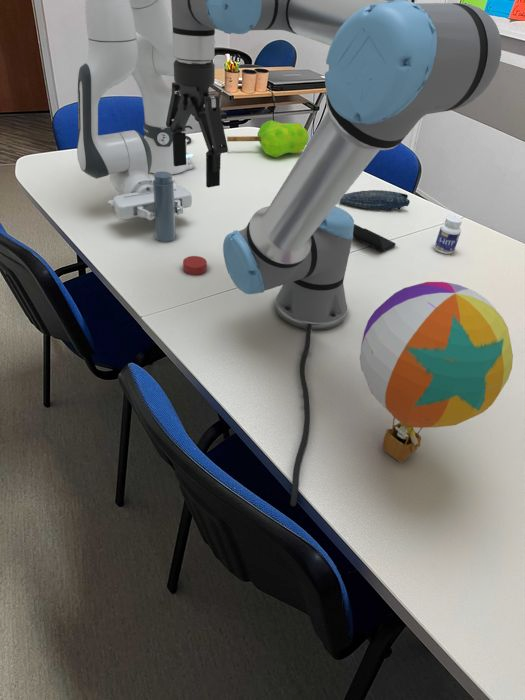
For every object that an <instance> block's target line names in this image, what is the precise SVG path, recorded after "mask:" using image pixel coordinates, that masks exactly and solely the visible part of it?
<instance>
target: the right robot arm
mask: <svg viewBox="0 0 525 700" xmlns="http://www.w3.org/2000/svg"><path fill="white" fill-rule="evenodd" d="M170 2H171V3H170V5H171V6H170V7H171V16H172V26H173V32H172V37H173V56H174V57H175V58H177V60H175V62H174V76H173V80H174V81H173V82H171V89H172V95H171V100H170V105H169V110H168V115H167V120H166V126H167V127H170V131H171V133H172V137H173V161H174V166H181V165H186V142H187V138H186V136H187V135H186V131H187V130H186V129H187V128H185V126H187V124H188V121H189V120H190V117H191V116H192V117H194V120H195V121H196V122H198V125H199V129H200V131H201V134H202V137H203V139H204V143H205V145H206V148H207V151H206V153H205V178H206V179H205V187H206V188H213V187H219V186H220V185H221V161H222V160H221V157H222V156H221V155H222V154H225V153H228V152H229V147H228V141H227V137H226V134H225V129H224V128H225V127H224V124H223V119H222V115H221V109H220V96H218V95H211V96H210V90H209V88H210V87H211V86H213V85H214V84H215V81H216V79H215V78H216V77H215V73H216V72H215V71H216V69H215V67H216V66H215V65H216V64H215V63H214V61H213V60H214V59H215V44H216V40H215V34H216V30H218V31H221V32H223V33H224V34H227V35H231V34H234V35H244V34H248V33H249V32H251V31H285V32H289V33H291V34H293V35H297V36H301V37H304V38H306V39H309V40H312V41H316V42H318V43H322V44H324V45H327V46H329V49H328V52H327V56H326V60H325V64H326V65H328V70H327V71H325V72H324V85H325V91H326V93H325V104H326V109H327V112H326V113H325V115H324V116H323V118H322V119H321V121H320V123H319V125H318V126H317V128H316V130H315V131H314V133H313V134H312V136H311V138H310V139H309V140H308V142H307V144H306V146H305V148H304V150H302V151H301V154H300V155H299V157H298V159H297V160H296V162H295V163H294V165H293V167H292V168H291V170H290V172H289V173H288V175H287V177H286V178H285V179H284V182H283V183H282V185H281V187H280V188H279V190H278V191H277V193H276V194H275V196H274V198H273V199H272V201H271V202H270V205H269V206H268V205H267V206H264V207H262V208H259V209H258V210H257V211H256V212H255V213H254V214H253V215H252V217H250V220H249V221H248V223H247V225H246V227H244V228H243V229H241V230H233V231H232V232H230V233H228V234H227V235H225V237H224V239H223V244H222V254H223V259H224V265H225V268H226V270H227V273H228V275H229V277H230V279H231V280H232V282H233V284H234V285H235V287H236V288H237V289H238V290H239V291H241V292H242V293H244V294H246V295H255V294H260V293H262V294H263V293H264V292H265V291H268V290H272V289H274V288H277V287H280V286H281V287H280V290H279V291H278V293H277V295H276V300H275V311H276V313H277V315H278V316H279V317H280V318H281V319H282V320H283V321H284V322H286V323H287V324H289V325H291V326H293V327H296V328H300V329H304V330H306V333H305V343H304V347H303V352H302V355H301V358H300V362H299V378H300V384H301V388H302V393H303V408H304V409H303V410H304V411H303V412H304V413H303V415H304V418H303V429H302V436H301V440H300V442H299V443H300V444H299V447H298V450H297V453H296V456H295V460H294V465H293V470H292V480H291V481H292V482H291V494H290V502H289V504H290V506H291V507H296V506H297V503H298V497H299V495H298V494H299V480H300V470H301V466H302V461H303V458H304V457H303V456H304V453H305V450H306V447H307V444H308V439H309V433H310V422H311V421H310V420H311V410H310V409H311V408H310V395H309V394H310V393H309V389H308V384H307V379H306V371H305V370H306V362H307V357H308V354H309V351H310V346H311V340H312V339H311V337H312V331H324V330H325V331H326V330H329V329H333V328H336V327H337V326H339V325H340V324H342V323H343V322H344V320H345V318H346V315H347V310H348V305H347V297H346V292H345V286H344V280H345V275H346V271H347V267H348V262H349V257H350V253H351V247H352V244H353V243H352V242H353V240H354V238H353V230H354V224H355V220H354V218H353V216H352V215H351V214H350V213H349V212H348V211H346V210H345V209H343V208H340V207H339V206H337V204H338V203H340V199H341V198H342V197H343V196H344V194H347V192H348V191H349V189H350V188H351V187H352V186H353V185H354V183H355V182H356V180H358V178H359V177H360V176H361V174H362V173H363V172H364V171H365V169H366V168H367V167H368V165H369V164H370V163H371V162H372V161H373V159H374V158H375V157H376V155H377V154H378V153H379V152H380V151H389V150H392V149H395V148H396V147H398V146H399V145H400V144H401V143H402V142H403V140H404V139H405V138H406V137H407V136H408V134H409V133H410V132H411V131H412V130H413V128H414V127H415V126H416V125H417V124H418V123H419V121H420V120H421V119H422V118H423V117H425V116H426V115H429V114H430V115H431V114H438V113H443V112H449V111H454V110H458V109H461V108H463V107H465V106H467V105H469V104H471V103H473V102H474V101H475V100H476V99H478V98H479V97H480V96H481V95H482V94H483V93H484V92H485V91H486V90H487V89H488V87H489V86H490V84H491V83H492V81H493V80H494V78H495V76H496V74H497V71H498V69H499V67H500V63H501V57H502V38H501V33H500V31H499V28H498V26H497V23H496V22H495V20H494V19H493V18H492V16H491V15H490V14H489V13H487V12H486V10H483V9H482V8H481V7H478V6H475V5H473V4H470V3H464V2H451V3H450V2H449V3H448V2H446V3H445V2H442V3H441V2H429V3H428V2H425V3H424V2H422V3H421V2H420V3H416V2H413V1H410V0H170ZM172 119H174V120H173V121H172ZM181 132H182V133H181Z"/></svg>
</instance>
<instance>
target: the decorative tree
mask: <svg viewBox="0 0 525 700" xmlns="http://www.w3.org/2000/svg"><path fill="white" fill-rule="evenodd" d="M226 142H259V144H260V146H261V148H262V150H263V152H264V153H265V155H268V156H270V157H272V158H278V157H281V156H283V155H285V154H298V153H301V152H303V151H304V149H305V147H306V146H307V144H308V142H309V132H308V131H307V128H305V127H304V126H303V125H302V124H301V123H298V122H296V123H295V122H293V123H291V122H289V123H288V122H285V123H282V122H278V121H275V120H272V119H270V120H268V121H266V122H263V123H262V124H261V125H260V127H259V129H258V131H257V136H256V135H251V136H250V135H247V136H246V135H245V136H244V135H243V136H242V135H241V136H227V137H226Z"/></svg>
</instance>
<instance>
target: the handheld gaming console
mask: <svg viewBox="0 0 525 700" xmlns="http://www.w3.org/2000/svg"><path fill="white" fill-rule="evenodd" d="M353 239H355V240H357V241H359V242H361V243H363V244H366V245H368V246H369V247H370V248H372V249H374V250H377V251H379V252H381V253H384V252H386V251H388V250H390V249H392V248H394V247H396V242H394V241H391V239H388V238H386V237H384V236H382V235H380V234H378V233H376V232H374V231H371V230H369V229H367V228H363V227H361V226H359V225H357V224H355V223H354V230H353Z"/></svg>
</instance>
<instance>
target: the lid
mask: <svg viewBox="0 0 525 700" xmlns="http://www.w3.org/2000/svg"><path fill="white" fill-rule="evenodd" d="M207 269H208V261H207V259H206V258H204V257H202V256H198V255H191V256H187V257H185V258H184V259H183V261H182V270H183V271H184V273H186V274H188V275H192V276H198V275H199V276H200V275H202V274H203V275H204V274H205V273H206V271H208V270H207Z"/></svg>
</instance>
